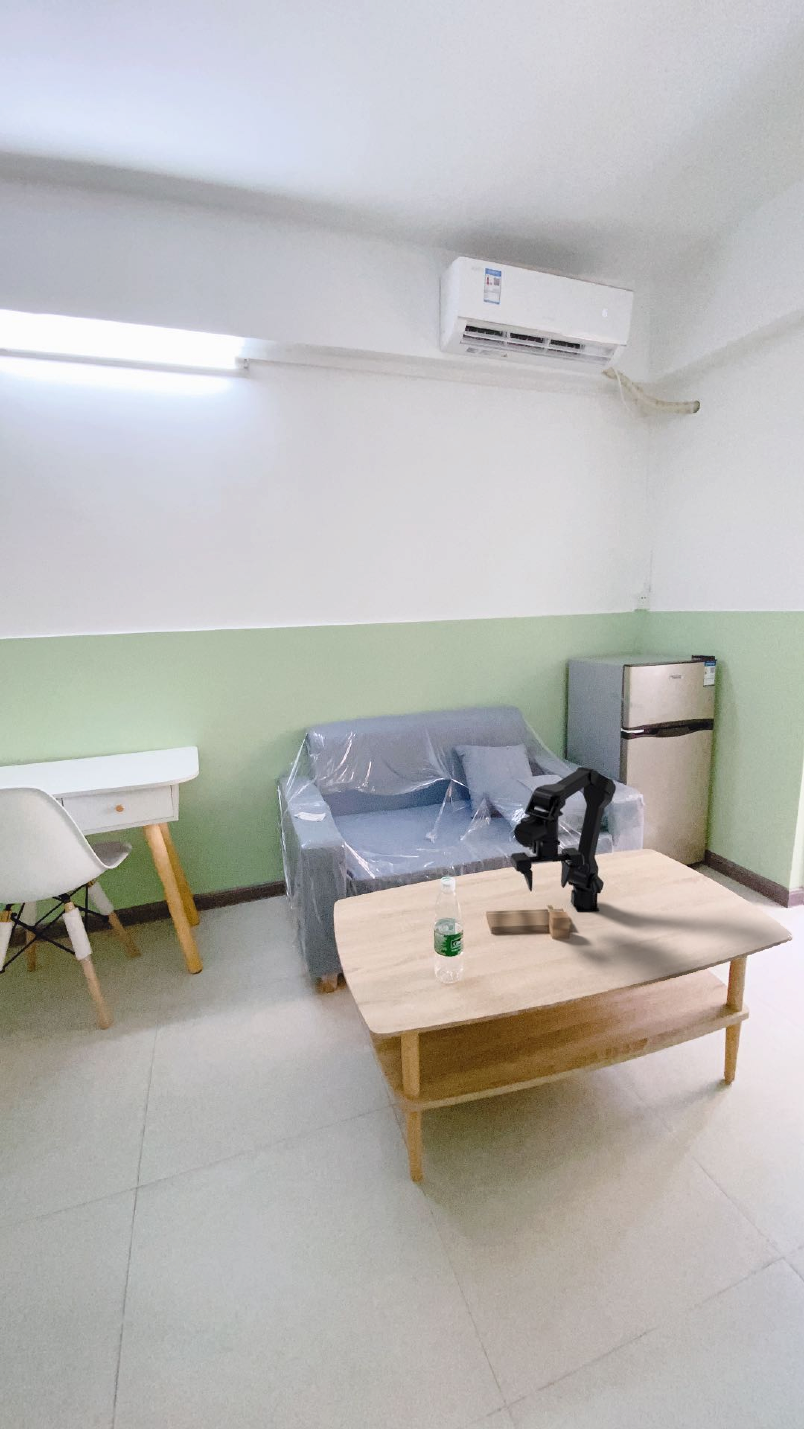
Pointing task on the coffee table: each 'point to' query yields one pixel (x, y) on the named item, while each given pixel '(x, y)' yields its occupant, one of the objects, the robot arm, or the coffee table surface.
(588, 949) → the coffee table surface
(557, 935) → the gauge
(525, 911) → the board
